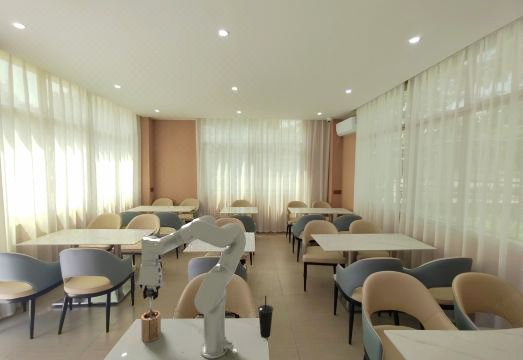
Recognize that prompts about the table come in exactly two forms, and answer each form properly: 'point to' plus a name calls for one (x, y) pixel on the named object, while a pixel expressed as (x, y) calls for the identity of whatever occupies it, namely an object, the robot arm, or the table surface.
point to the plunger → (150, 300)
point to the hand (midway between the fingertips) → (150, 297)
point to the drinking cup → (265, 319)
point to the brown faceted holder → (150, 326)
